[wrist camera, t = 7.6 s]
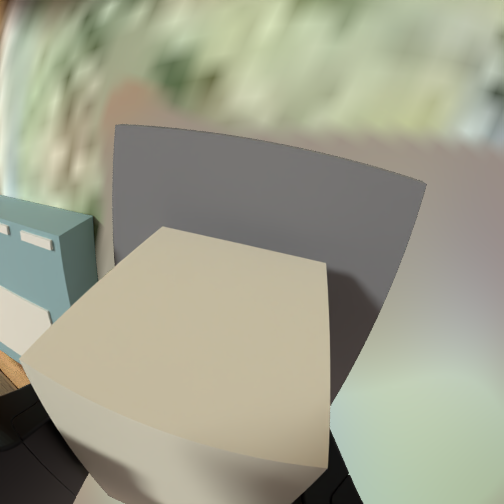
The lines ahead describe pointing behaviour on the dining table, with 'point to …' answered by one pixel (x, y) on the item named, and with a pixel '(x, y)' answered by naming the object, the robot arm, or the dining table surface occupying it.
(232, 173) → the mat
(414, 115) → the dining table surface
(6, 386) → the skincare box
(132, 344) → the stub
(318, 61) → the dining table surface
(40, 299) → the ticket book
